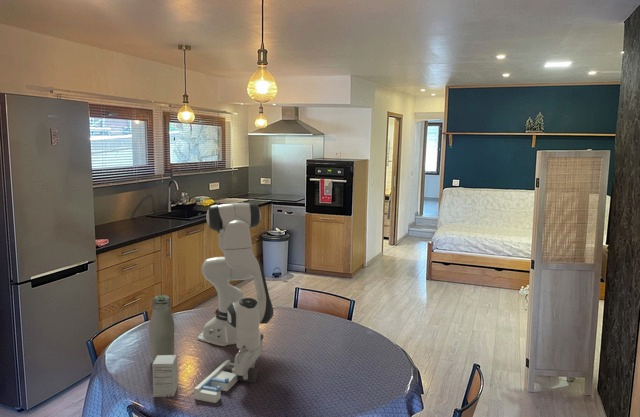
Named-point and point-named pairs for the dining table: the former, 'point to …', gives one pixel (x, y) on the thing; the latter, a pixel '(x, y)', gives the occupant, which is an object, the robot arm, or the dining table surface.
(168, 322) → the glass bottle
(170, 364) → the supplement box
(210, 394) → the white angular block assembly
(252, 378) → the banded gray post
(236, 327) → the robot arm
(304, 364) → the dining table surface
